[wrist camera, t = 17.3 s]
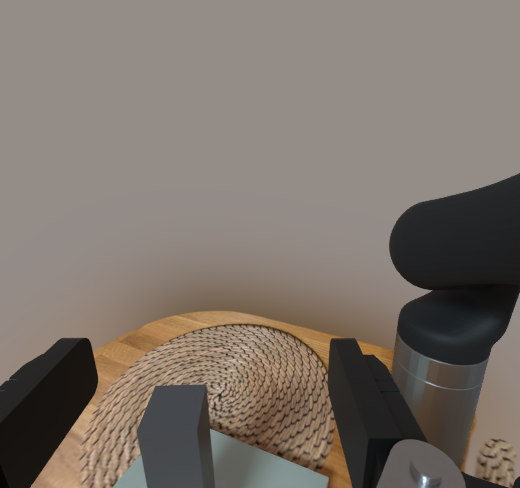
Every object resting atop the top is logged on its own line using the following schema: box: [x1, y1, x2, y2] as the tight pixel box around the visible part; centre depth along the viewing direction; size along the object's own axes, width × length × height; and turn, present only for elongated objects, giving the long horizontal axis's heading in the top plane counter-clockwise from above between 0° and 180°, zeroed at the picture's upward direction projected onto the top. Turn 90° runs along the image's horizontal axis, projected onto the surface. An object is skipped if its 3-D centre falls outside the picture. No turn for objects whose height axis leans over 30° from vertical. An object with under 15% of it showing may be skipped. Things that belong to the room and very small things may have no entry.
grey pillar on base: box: [137, 385, 227, 488], centre depth 27 cm, size 9×6×16 cm, turn 1°
